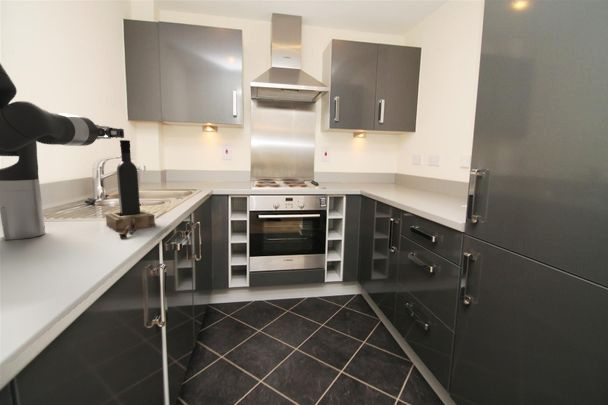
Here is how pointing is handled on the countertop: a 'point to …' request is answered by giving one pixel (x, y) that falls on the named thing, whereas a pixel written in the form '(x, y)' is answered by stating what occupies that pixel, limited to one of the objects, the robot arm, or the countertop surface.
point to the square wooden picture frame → (122, 222)
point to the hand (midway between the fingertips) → (106, 133)
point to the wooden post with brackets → (128, 229)
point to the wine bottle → (127, 182)
